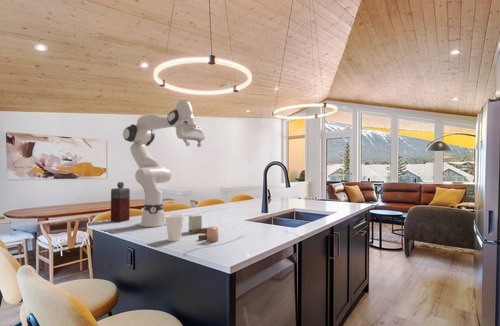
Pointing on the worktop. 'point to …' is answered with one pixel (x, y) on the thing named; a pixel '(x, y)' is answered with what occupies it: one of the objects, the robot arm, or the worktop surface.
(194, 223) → the sage tin
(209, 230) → the orange-brown cylindrical block
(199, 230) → the bay
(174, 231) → the foam cup
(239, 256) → the worktop surface
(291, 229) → the worktop surface
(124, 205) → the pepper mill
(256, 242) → the worktop surface
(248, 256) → the worktop surface
